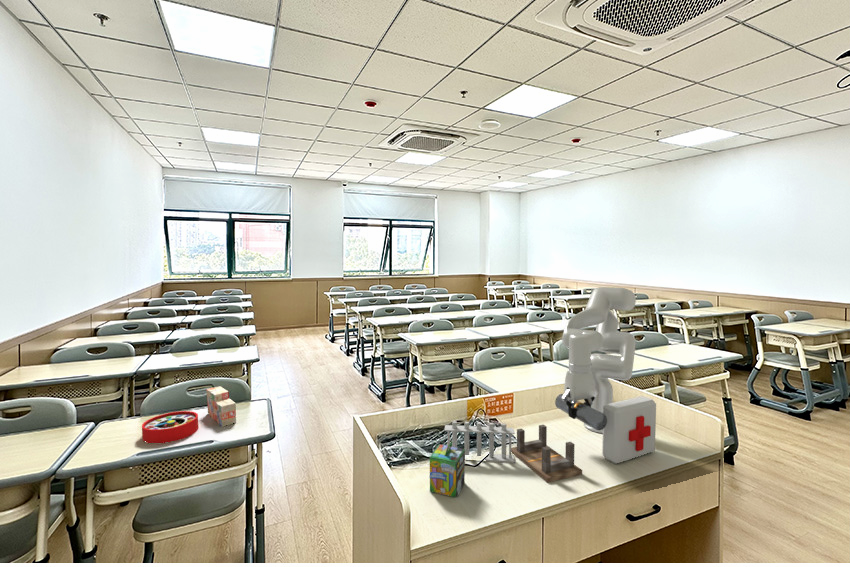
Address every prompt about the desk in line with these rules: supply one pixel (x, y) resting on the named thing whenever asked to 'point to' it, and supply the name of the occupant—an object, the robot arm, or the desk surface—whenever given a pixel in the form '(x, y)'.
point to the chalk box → (447, 470)
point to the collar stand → (545, 457)
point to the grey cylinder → (584, 413)
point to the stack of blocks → (221, 406)
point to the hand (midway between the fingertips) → (579, 415)
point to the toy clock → (170, 427)
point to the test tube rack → (490, 430)
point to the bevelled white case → (629, 429)
